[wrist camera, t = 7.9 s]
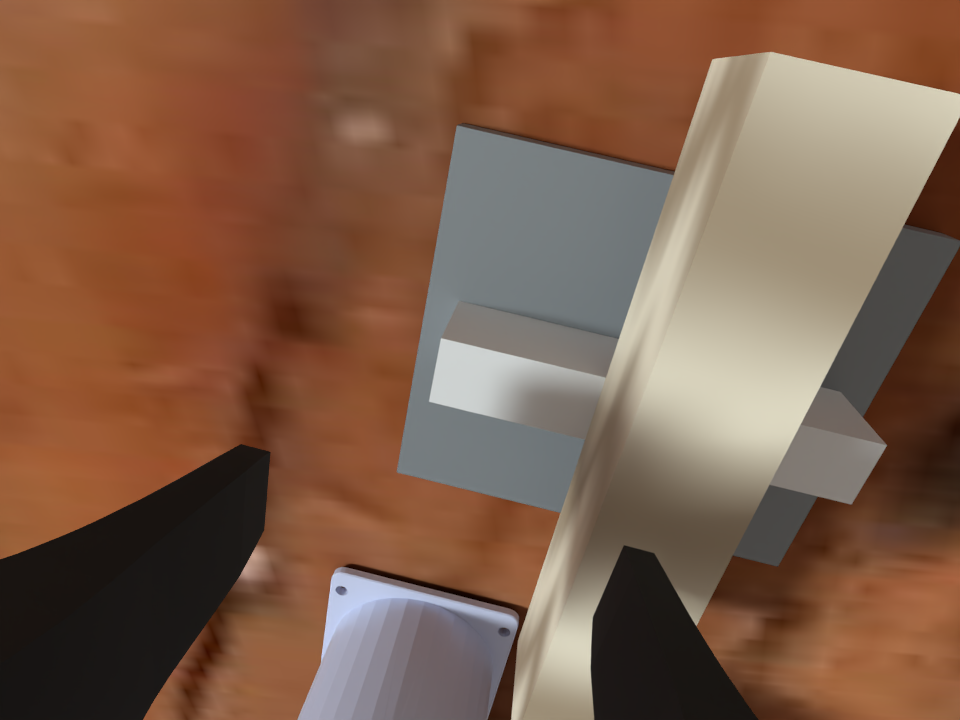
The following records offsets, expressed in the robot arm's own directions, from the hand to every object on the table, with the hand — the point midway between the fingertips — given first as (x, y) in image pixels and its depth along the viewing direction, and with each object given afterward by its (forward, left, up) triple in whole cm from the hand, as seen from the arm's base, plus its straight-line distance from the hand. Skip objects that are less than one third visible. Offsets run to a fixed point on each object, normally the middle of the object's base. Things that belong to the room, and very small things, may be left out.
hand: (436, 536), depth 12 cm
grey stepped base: (+1, -5, -9) cm, 11 cm away
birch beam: (+1, -5, -5) cm, 7 cm away
